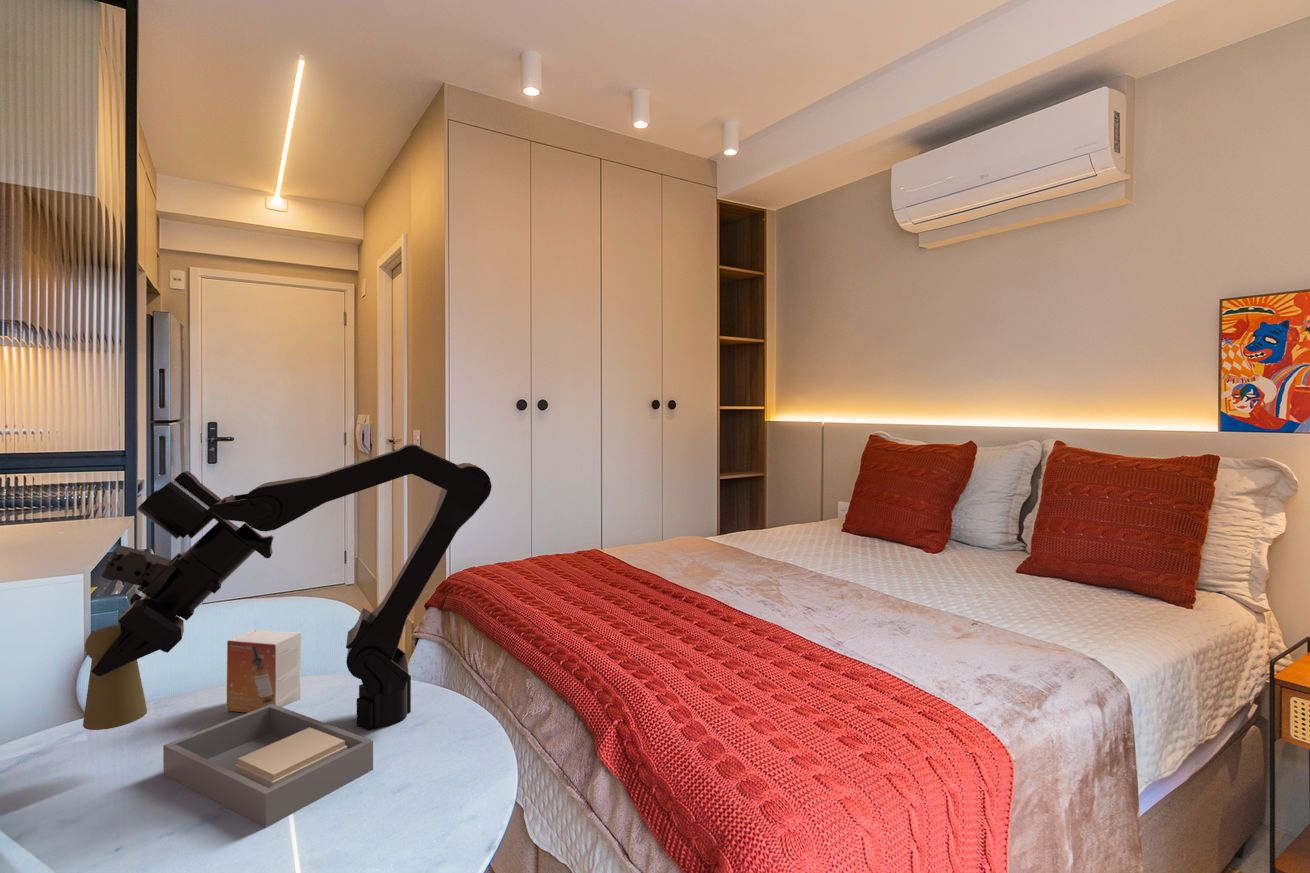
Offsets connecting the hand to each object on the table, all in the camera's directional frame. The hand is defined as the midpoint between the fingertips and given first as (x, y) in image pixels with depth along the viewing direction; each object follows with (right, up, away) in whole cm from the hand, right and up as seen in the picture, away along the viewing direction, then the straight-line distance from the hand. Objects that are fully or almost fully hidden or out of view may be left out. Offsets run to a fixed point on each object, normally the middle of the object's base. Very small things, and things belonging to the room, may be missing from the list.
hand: (99, 666), depth 80 cm
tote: (+20, -13, 0) cm, 24 cm away
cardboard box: (+24, -13, -2) cm, 27 cm away
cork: (+1, -7, +1) cm, 7 cm away
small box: (+8, -13, +20) cm, 25 cm away
